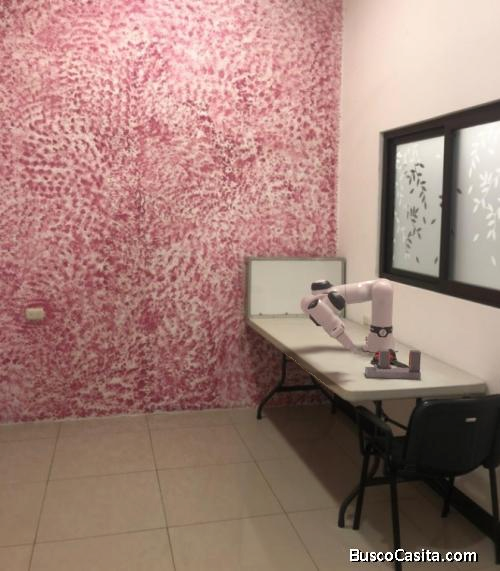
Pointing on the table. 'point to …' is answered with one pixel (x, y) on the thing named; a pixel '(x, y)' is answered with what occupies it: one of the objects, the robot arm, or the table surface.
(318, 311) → the robot arm
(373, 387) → the table surface
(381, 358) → the block
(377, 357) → the valve
